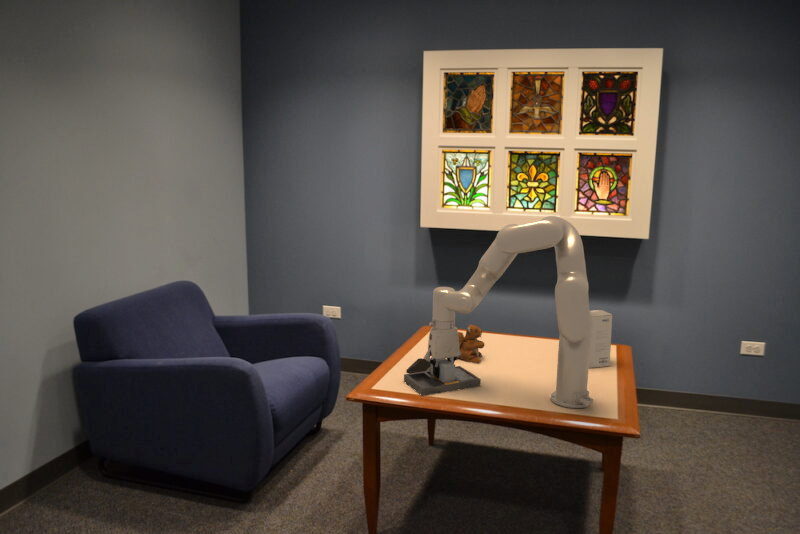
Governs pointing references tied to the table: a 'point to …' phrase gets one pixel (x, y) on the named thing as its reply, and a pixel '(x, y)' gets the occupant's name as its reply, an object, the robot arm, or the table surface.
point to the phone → (419, 366)
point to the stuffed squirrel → (470, 344)
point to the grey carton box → (600, 339)
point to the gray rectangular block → (445, 371)
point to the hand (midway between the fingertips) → (442, 375)
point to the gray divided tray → (431, 385)
